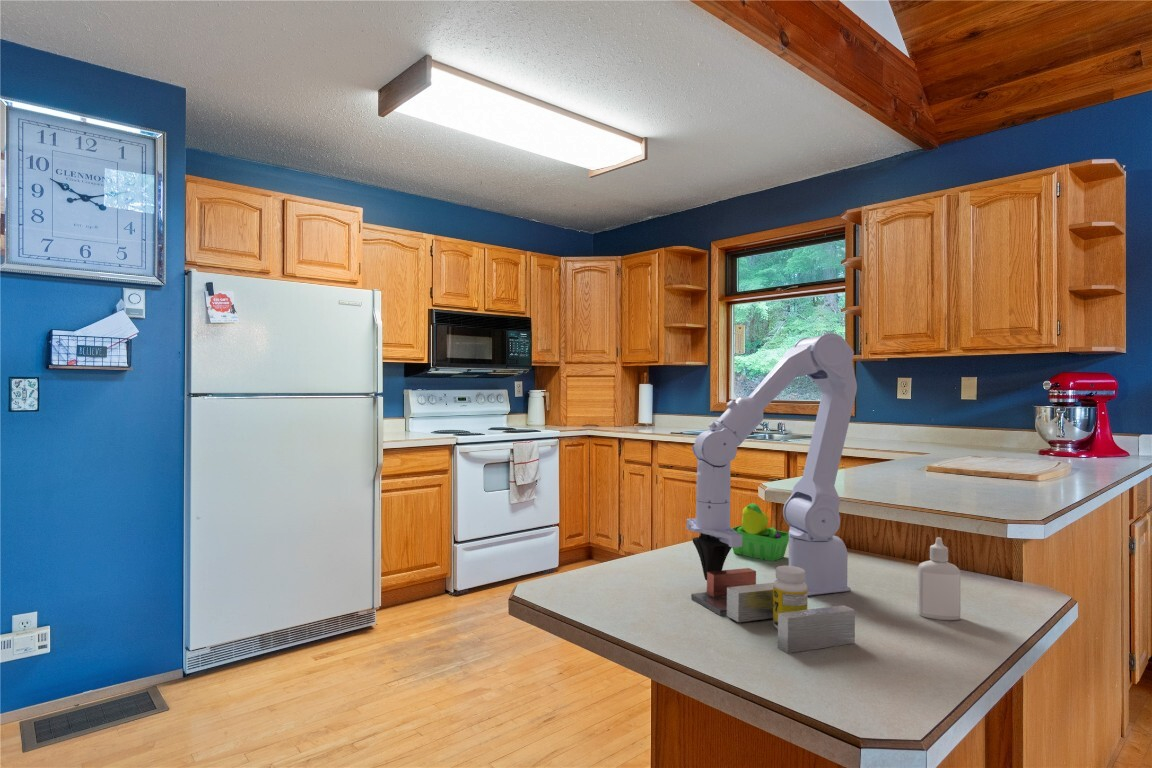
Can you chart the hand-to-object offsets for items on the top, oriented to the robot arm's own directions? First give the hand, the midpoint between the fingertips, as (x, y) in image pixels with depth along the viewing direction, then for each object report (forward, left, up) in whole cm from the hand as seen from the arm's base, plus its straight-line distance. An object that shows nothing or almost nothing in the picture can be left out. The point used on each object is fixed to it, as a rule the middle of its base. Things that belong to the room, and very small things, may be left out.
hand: (712, 580), depth 110 cm
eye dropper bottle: (-26, +22, -2) cm, 34 cm away
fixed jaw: (0, +26, -2) cm, 26 cm away
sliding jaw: (0, +10, -1) cm, 10 cm away
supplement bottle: (-1, +19, -2) cm, 19 cm away
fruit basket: (-22, -18, -2) cm, 28 cm away
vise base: (0, +8, -2) cm, 8 cm away
